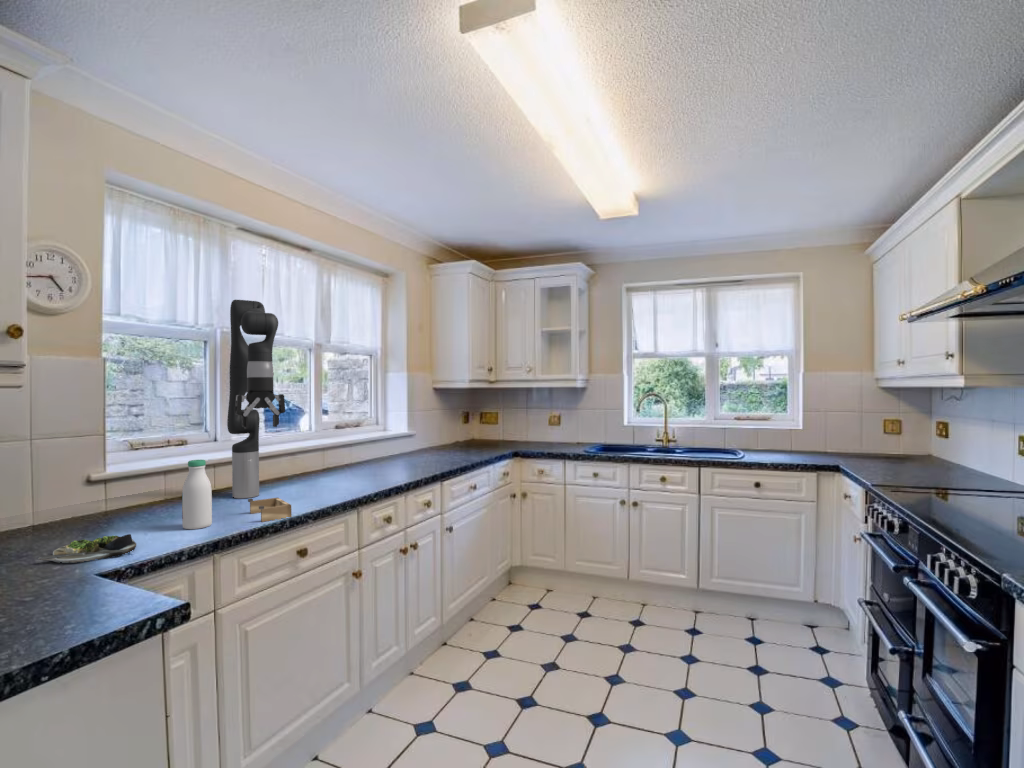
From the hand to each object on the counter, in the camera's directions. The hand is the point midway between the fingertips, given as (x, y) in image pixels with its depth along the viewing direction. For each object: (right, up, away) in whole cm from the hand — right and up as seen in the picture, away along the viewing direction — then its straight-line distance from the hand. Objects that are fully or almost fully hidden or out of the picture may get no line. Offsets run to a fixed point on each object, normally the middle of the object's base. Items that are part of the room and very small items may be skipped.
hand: (260, 427), depth 168 cm
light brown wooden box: (0, -29, +7) cm, 30 cm away
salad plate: (-27, -30, -31) cm, 51 cm away
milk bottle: (-16, -30, -7) cm, 34 cm away
